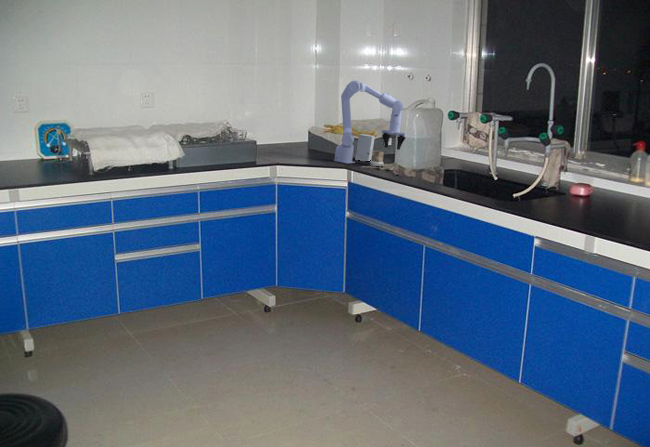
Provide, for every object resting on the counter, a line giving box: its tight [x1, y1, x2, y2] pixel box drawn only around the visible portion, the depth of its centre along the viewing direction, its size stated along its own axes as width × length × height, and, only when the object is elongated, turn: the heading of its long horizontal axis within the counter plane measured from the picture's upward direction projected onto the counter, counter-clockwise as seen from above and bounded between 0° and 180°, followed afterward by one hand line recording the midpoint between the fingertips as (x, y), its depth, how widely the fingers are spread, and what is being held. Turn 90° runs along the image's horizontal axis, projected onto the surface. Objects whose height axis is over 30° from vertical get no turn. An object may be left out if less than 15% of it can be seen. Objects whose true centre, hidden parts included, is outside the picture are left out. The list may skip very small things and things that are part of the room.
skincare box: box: [355, 133, 376, 162], centre depth 387 cm, size 8×6×15 cm
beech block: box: [370, 150, 385, 162], centre depth 371 cm, size 4×4×6 cm
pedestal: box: [370, 161, 384, 167], centre depth 372 cm, size 7×7×2 cm
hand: (392, 148), depth 369 cm, fingers open, 7 cm apart
